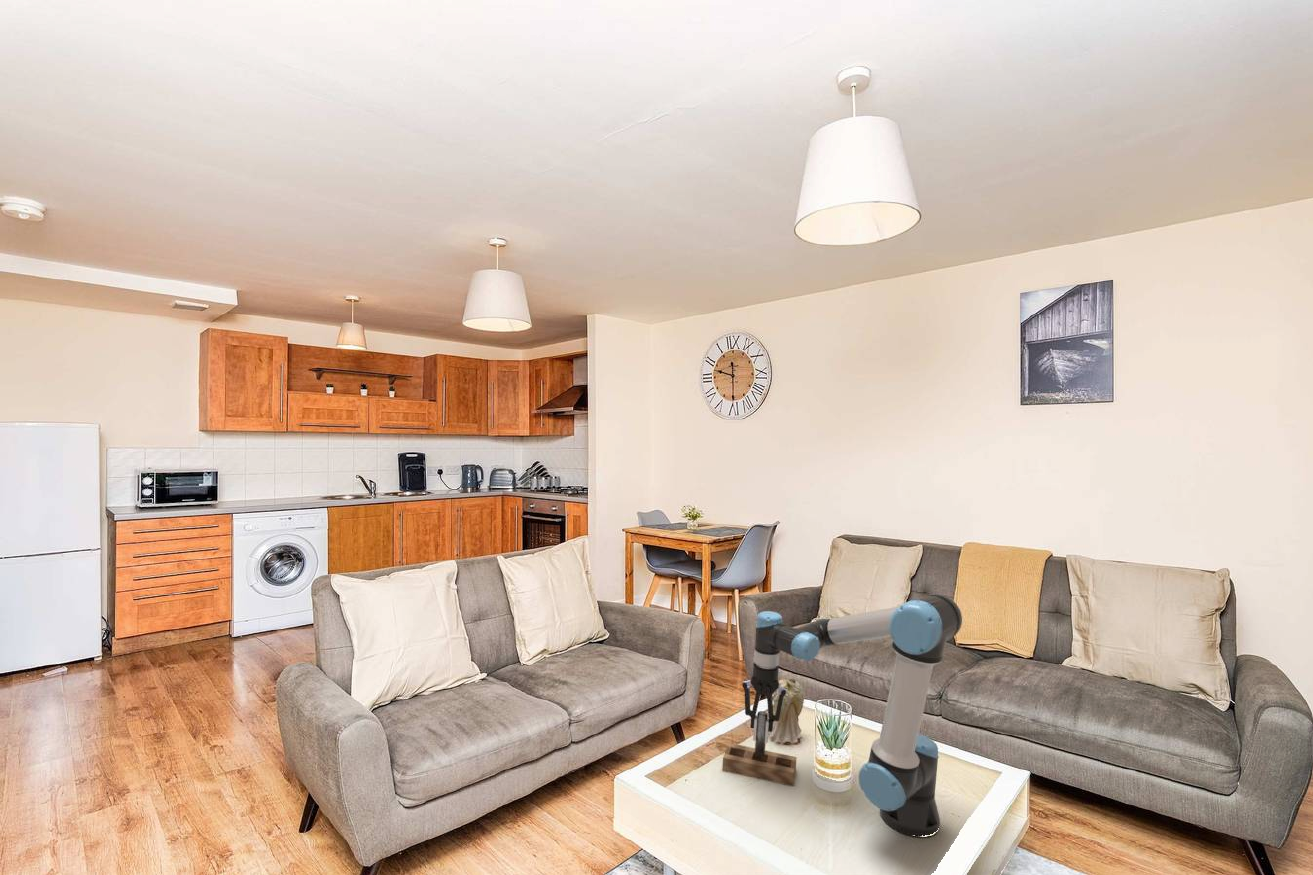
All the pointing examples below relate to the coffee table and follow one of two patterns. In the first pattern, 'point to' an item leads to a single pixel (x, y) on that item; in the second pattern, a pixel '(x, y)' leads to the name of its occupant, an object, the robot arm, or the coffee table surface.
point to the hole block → (759, 764)
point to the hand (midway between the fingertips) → (760, 739)
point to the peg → (760, 733)
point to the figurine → (788, 714)
